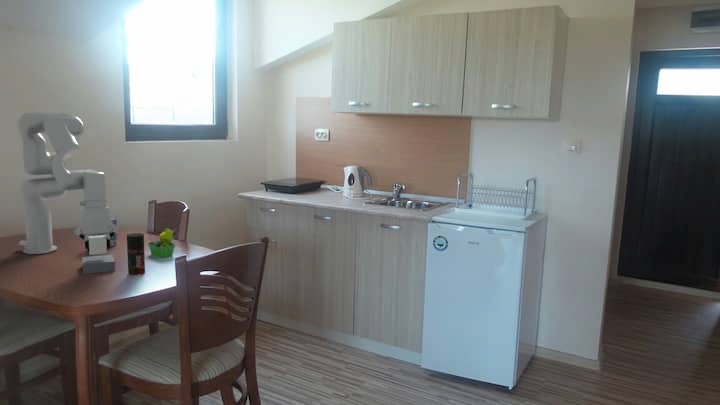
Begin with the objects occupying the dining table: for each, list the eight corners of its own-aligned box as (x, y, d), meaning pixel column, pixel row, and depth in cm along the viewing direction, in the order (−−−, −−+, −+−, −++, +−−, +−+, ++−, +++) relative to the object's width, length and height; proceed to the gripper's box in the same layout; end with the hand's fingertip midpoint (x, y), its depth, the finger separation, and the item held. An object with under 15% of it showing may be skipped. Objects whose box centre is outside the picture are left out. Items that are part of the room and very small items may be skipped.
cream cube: (89, 254, 201) (88, 239, 200) (89, 251, 206) (88, 236, 205) (106, 253, 203) (106, 238, 203) (106, 249, 209) (105, 235, 208)
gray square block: (83, 274, 199) (82, 264, 198) (82, 267, 208) (82, 257, 207) (115, 271, 204) (114, 261, 203) (113, 264, 213) (112, 254, 213)
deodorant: (134, 276, 197) (133, 237, 195) (124, 273, 200) (123, 235, 198) (148, 272, 202) (147, 234, 200) (138, 269, 205) (137, 232, 203)
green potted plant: (147, 254, 229) (146, 228, 227) (166, 250, 235) (165, 226, 233) (159, 259, 221) (158, 233, 219) (179, 255, 227) (178, 230, 226)
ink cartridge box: (100, 249, 233) (98, 217, 231) (91, 248, 235) (89, 216, 233) (118, 244, 242) (116, 214, 240) (109, 243, 244) (107, 212, 242)
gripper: (69, 206, 194) (72, 254, 197) (120, 204, 202) (122, 250, 205) (70, 203, 201) (72, 249, 204) (119, 201, 209) (121, 245, 212)
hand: (97, 249), depth 205 cm, fingers closed on cream cube, 6 cm apart
